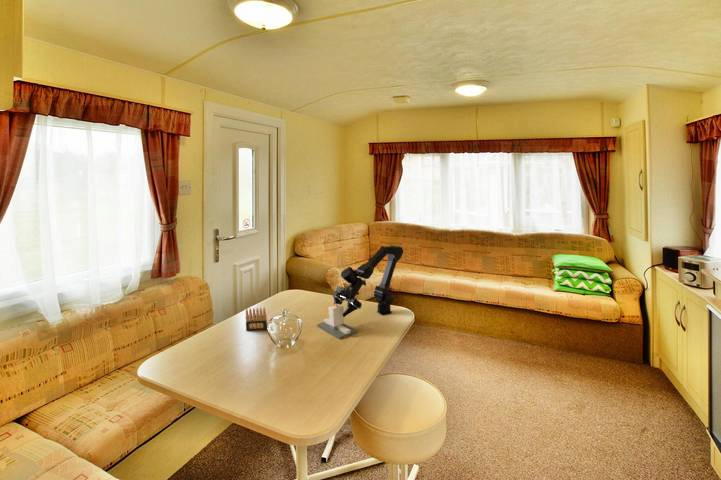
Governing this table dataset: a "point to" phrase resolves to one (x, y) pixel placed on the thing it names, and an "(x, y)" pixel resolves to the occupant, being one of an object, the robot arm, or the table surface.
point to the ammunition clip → (256, 320)
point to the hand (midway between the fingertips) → (337, 313)
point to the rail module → (336, 316)
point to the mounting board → (337, 329)
